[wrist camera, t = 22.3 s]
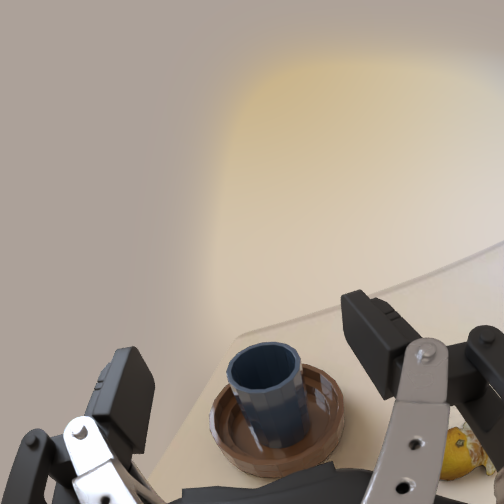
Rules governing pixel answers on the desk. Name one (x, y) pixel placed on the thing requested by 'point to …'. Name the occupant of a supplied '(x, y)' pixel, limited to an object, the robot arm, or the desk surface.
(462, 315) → the desk surface
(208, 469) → the desk surface
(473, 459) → the fruit
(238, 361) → the cup
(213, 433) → the bowl
